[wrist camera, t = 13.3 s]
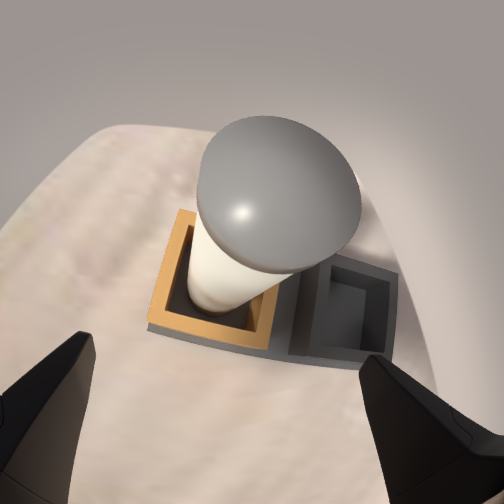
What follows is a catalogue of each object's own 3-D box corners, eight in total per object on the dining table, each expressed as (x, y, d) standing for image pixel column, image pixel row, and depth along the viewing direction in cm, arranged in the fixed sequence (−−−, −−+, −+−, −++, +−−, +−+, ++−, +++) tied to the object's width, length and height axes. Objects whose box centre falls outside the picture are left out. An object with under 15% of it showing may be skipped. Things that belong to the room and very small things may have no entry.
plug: (251, 307, 18) (384, 237, 6) (195, 325, 17) (235, 287, 5) (232, 253, 19) (319, 113, 7) (177, 268, 18) (182, 124, 6)
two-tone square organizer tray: (369, 280, 22) (400, 268, 19) (359, 370, 20) (391, 372, 16) (178, 226, 20) (179, 200, 16) (148, 331, 17) (140, 328, 13)
